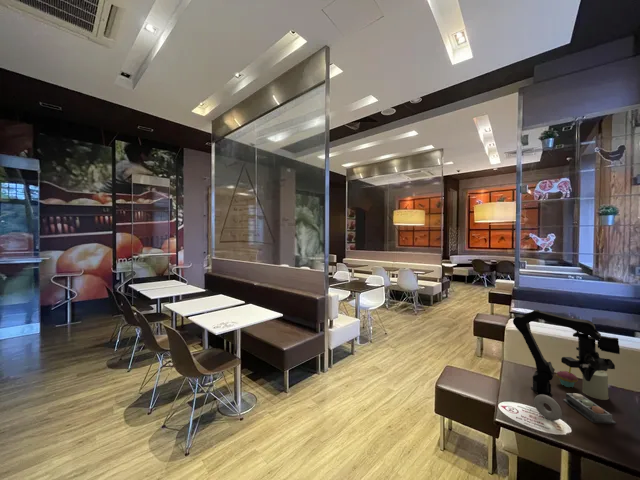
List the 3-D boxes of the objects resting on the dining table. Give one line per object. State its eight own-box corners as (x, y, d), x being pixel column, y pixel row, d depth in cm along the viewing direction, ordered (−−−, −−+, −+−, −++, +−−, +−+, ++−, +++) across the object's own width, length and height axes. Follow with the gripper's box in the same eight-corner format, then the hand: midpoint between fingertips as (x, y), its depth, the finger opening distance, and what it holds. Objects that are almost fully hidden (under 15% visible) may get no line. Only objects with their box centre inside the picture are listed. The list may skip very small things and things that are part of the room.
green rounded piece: (586, 411, 119) (586, 403, 119) (579, 406, 122) (579, 399, 122) (595, 412, 118) (595, 404, 118) (588, 407, 122) (588, 399, 122)
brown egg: (597, 418, 114) (596, 410, 114) (589, 413, 117) (589, 405, 117) (606, 419, 113) (606, 411, 113) (598, 414, 117) (598, 406, 117)
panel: (592, 422, 113) (592, 413, 113) (563, 400, 128) (562, 393, 129) (616, 424, 112) (615, 415, 112) (583, 401, 127) (583, 394, 127)
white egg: (577, 404, 123) (577, 397, 124) (571, 400, 127) (570, 392, 127) (585, 405, 123) (585, 397, 123) (579, 400, 127) (579, 393, 127)
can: (614, 400, 128) (613, 375, 129) (595, 400, 129) (594, 375, 129) (595, 389, 138) (594, 366, 138) (577, 389, 138) (576, 366, 138)
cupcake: (572, 382, 145) (572, 360, 145) (582, 390, 136) (581, 367, 137) (553, 380, 147) (552, 358, 148) (561, 388, 139) (560, 365, 139)
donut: (532, 413, 120) (531, 390, 120) (536, 411, 121) (536, 389, 121) (559, 427, 110) (558, 403, 111) (564, 424, 112) (563, 401, 112)
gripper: (579, 354, 117) (580, 389, 117) (627, 355, 115) (628, 391, 115) (560, 344, 128) (560, 376, 128) (602, 345, 126) (603, 378, 126)
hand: (587, 380), depth 124 cm, fingers closed
